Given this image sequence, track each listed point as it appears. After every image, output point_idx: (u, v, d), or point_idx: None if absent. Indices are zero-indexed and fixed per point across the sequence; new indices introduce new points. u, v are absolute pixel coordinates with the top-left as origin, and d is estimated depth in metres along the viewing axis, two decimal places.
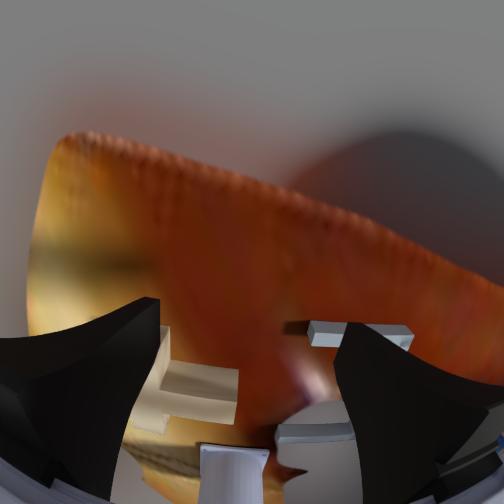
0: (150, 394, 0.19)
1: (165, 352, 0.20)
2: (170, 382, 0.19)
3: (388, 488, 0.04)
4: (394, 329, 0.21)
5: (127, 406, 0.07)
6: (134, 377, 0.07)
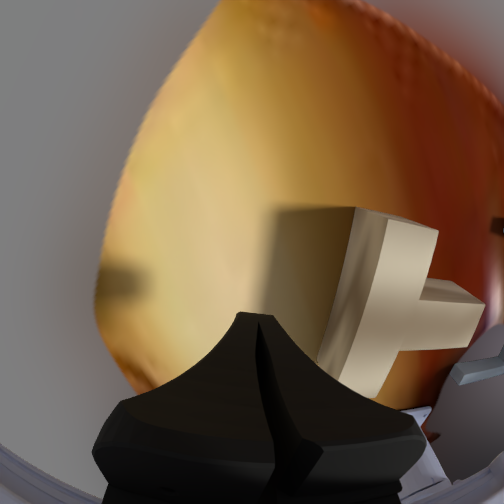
0: (402, 313, 0.12)
1: None
2: None
3: (257, 503, 0.04)
4: None
5: None
6: None
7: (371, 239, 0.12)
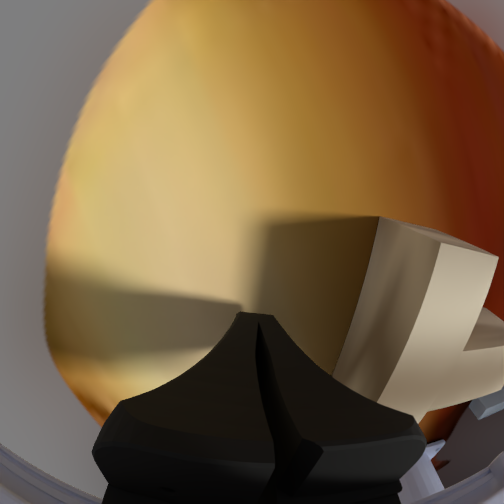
0: (439, 371, 0.07)
1: None
2: None
3: (257, 503, 0.04)
4: None
5: None
6: None
7: (407, 270, 0.07)
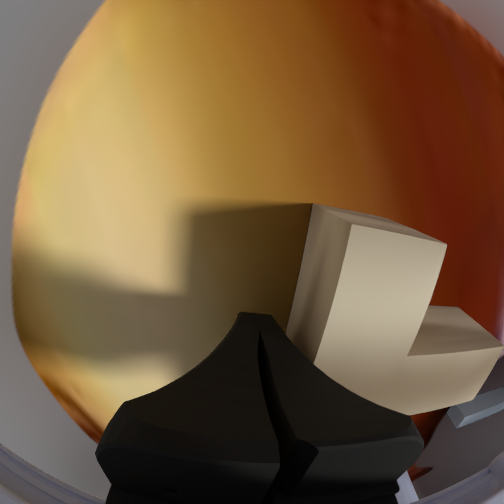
0: (377, 376, 0.07)
1: None
2: None
3: None
4: None
5: None
6: None
7: (326, 259, 0.07)
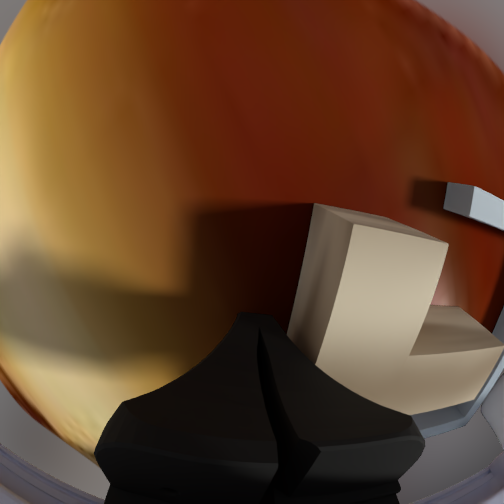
0: (379, 376, 0.07)
1: None
2: None
3: None
4: None
5: None
6: None
7: (328, 259, 0.07)
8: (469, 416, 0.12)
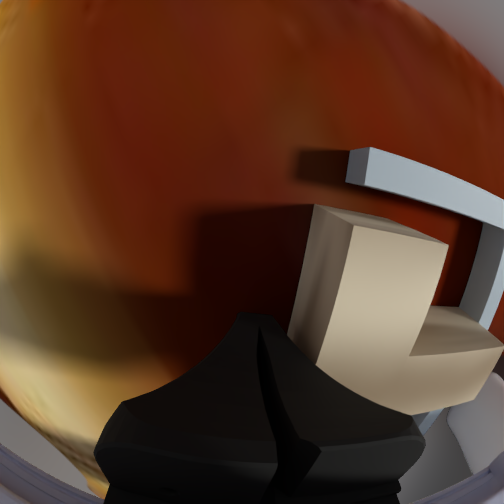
0: (379, 377, 0.07)
1: None
2: None
3: None
4: None
5: None
6: None
7: (328, 260, 0.07)
8: (423, 429, 0.11)
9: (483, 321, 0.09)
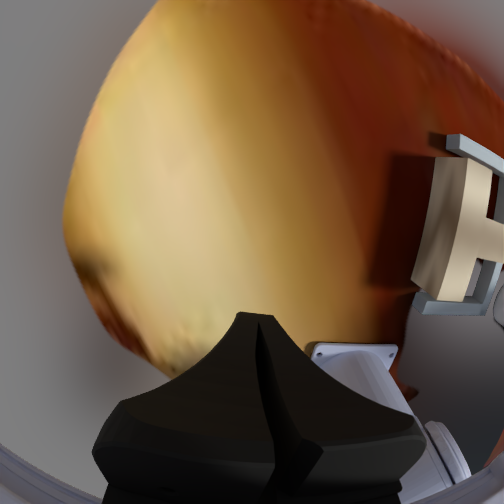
0: (477, 226, 0.14)
1: None
2: None
3: (257, 503, 0.04)
4: None
5: None
6: None
7: (455, 173, 0.15)
8: (486, 305, 0.19)
9: None
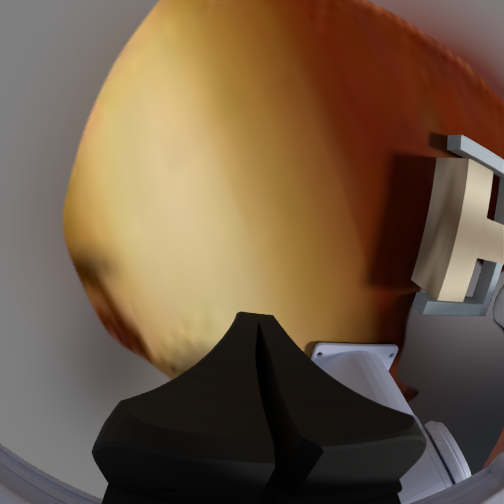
0: (478, 226, 0.14)
1: None
2: None
3: (257, 503, 0.04)
4: None
5: None
6: None
7: (456, 174, 0.15)
8: (486, 305, 0.19)
9: None
